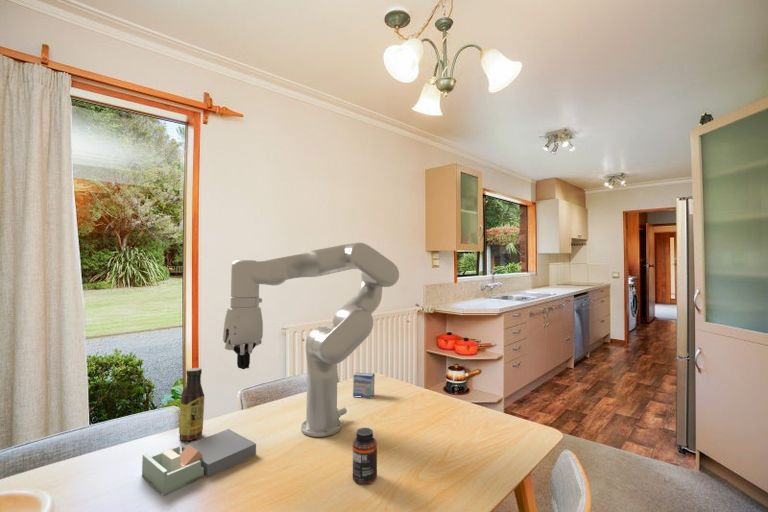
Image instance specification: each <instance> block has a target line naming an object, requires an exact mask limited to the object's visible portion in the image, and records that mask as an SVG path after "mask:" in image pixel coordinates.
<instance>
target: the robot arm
mask: <svg viewBox="0 0 768 512" xmlns="http://www.w3.org/2000/svg"><path fill="white" fill-rule="evenodd" d="M354 269H355V270H359V271H361V285H360V288H359V290H358V291H357V292H356V294H355V295H354V296H353V297H352V298H350V299H349V300H348V301H347V302H346V303H345V304H344V305H342V307H340V308H339V309H338V310H337V311H336V312H335V314H334V315H333V319H332V323H333V327H334V328H333V329H332V328H329V327H325V326H318V327H314V328H313V329H311V330H310V331H309V333H308V334H307V337H306V338H305V355H306V369H307V370H306V373H307V374H306V376H307V377H306V378H307V379H306V410H305V411H306V418H305V419H306V420H304V421H302V423H301V426H300V429H301V430H300V431H301V432H302V434H304V435H306V436H309V437H312V438H314V437H315V438H316V437H317V438H318V437H319V438H321V437H322V438H323V437H329V436H332V435H335V434H337V433H338V432H339V431H341V429H342V421H341V420H340V418H341V416H343V415H345V414H347V412H348V411H347V408H346V407H341V408H340V409H339V408H338V374H339V373H338V365H339V364H340V363H342V362H343V361H344V360H346V359H347V358H348V357H349V356H350V355H351V354H353V352H354V351H355V350H356V349H358V347H359V346H360V345H361V344H362V343H363V342H364V341H366V339H367V338H368V337H369V336H370V334H371V333H372V330H373V327H374V317H373V315H372V314H373V313H374V312H375V311H376V310H377V308H379V306H380V304H381V301H382V295H383V288H390V287H393V286H394V285H396V284H397V282H398V280H399V278H400V271H399V268H398V266H397V265H396V264H395V263H394V262H393V261H391V260H390V259H389V258H387V257H386V256H385V255H383V254H382V253H380V252H379V251H377V250H376V249H375V248H373V247H371V246H370V245H368V244H366V243H364V242H354V243H346V244H340V245H336V246H335V245H334V246H328V247H325V248H319V249H314V250H310V251H305V252H301V253H298V254H293V255H288V256H283V257H278V258H272V259H265V260H260V261H259V260H258V261H257V260H253V259H238V260H234V261H233V262H232V263H231V273H230V275H231V276H230V278H231V279H230V281H231V282H230V308H227V310H226V313H225V318H224V323H223V332H222V334H223V335H222V341H223V343H224V344H225V346H224V349H225V350H226V351H233V352H234V353H235V354H237V355H236V356H237V357H236V365H237V368H238V369H240V370H246V369H249V368H250V364H251V363H250V362H251V354H252V353H253V350H254V349H255V348H256V347H257V346H260V345H261V344H262V339H263V335H264V323H263V313H262V309H261V307H260V303H262V302H263V299H262V298H261V297H260V285H266V286H267V285H269V286H280V285H281V284H284V282H286V281H287V280H292V279H299V278H316V277H323V276H327V275H330V274H337V273H340V272H345V271H350V270H354Z"/></svg>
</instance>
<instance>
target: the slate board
mask: <svg viewBox="0 0 768 512" xmlns="http://www.w3.org/2000/svg"><path fill="white" fill-rule="evenodd" d="M188 445H190V446H192V447H193V448H195V449H197V450H198V451H199V452H200V453H201V454H202V455H203V456H202V457H201V458H200V459H199V460H200V461H201V466H202V467H203V468H204V476H206V477H207V478H210V477H211V476H213V475H216V474H218V473H220V472H222V471H225V470H227V469H229V468H231V467H233V466H235V465H237V464H240V463H241V462H244V461H247V460H248V459H250V458H252V457H254V456H256V455H257V443H256V442H255V441H252V440H250V439H248V438H246V437H245V436H243V435H241V434H239V433H237V432H235V431H233V430H231V429H230V428H228V429H225V430H222V431H219V432H217V433H214V434H212V435H209V436H206V437H203V438H201V439H198V440H196V441H193V442H190V443H187V444H184V445H182V446H181V452H182V451H183V450H184V449H185V448H186V447H187V446H188Z"/></svg>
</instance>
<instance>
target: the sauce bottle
mask: <svg viewBox="0 0 768 512" xmlns="http://www.w3.org/2000/svg"><path fill="white" fill-rule="evenodd" d="M202 370H203V369H202V368H201V367H191V368H188V369H187V370H186V371H185V372H186V382H185V383H186V384H185V386H184V389H183V390H182V392H181V399H180V400H181V401H180V406H179V407H180V409H179V411H180V412H179V428H178V434H179V435H178V436H179V440H180V441H182V442H188V441H189V442H190V441H194V440H196V439H199V438H200V437H201V436H202V434H203V430H204V414H205V412H204V411H205V392H204V390H203V387H202V380H201V379H202V378H201V377H202Z"/></svg>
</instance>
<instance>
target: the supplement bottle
mask: <svg viewBox="0 0 768 512" xmlns="http://www.w3.org/2000/svg"><path fill="white" fill-rule="evenodd" d="M355 435H356V437H355V438H354V440H353V441H352V480H353V481H354V482H355V483H356V484H358V485H364V486H365V485H369V484H372V483H374V482H375V481H376V480H377V477H378V443H377V439H375V438H374V430H373V429H372V428H370V427H360V428H359V429H357V430H356V434H355Z"/></svg>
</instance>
